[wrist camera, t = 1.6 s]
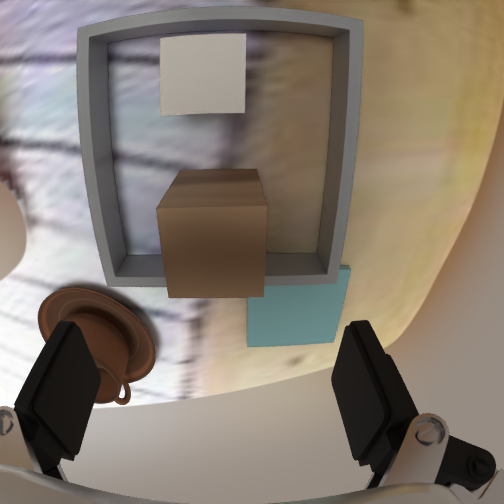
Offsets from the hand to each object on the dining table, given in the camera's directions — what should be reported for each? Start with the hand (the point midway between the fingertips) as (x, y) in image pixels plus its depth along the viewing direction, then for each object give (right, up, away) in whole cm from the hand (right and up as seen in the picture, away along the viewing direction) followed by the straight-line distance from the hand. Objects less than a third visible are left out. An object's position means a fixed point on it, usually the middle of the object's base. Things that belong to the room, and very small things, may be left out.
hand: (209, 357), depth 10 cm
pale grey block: (-1, +14, +7) cm, 16 cm away
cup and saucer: (-13, -4, +16) cm, 21 cm away
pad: (+5, -1, +15) cm, 16 cm away
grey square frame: (-1, +10, +9) cm, 14 cm away
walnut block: (-1, +7, +11) cm, 13 cm away
